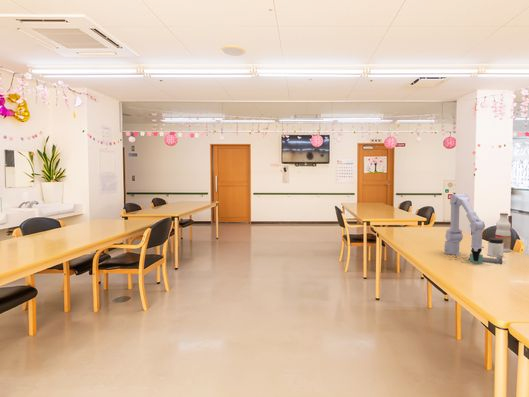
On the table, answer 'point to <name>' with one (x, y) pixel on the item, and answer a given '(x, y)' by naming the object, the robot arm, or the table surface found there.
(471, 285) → the table surface
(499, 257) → the vise
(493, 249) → the jar
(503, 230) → the fruit juice
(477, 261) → the block
